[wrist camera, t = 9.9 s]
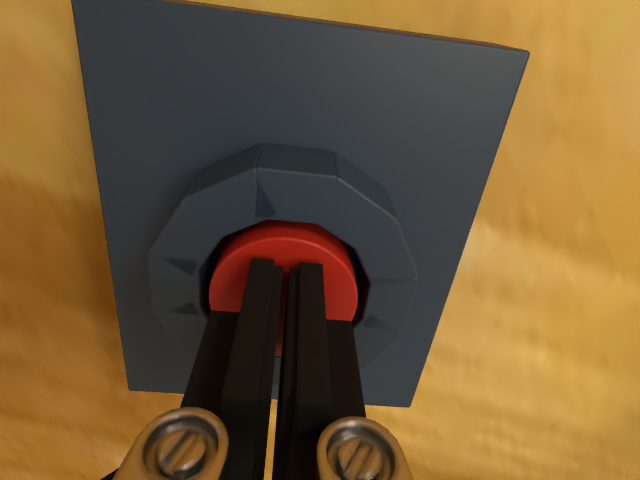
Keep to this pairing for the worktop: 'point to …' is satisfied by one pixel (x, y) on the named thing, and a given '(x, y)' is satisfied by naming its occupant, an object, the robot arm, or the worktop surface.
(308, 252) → the button
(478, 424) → the worktop surface
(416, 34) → the red push button box
